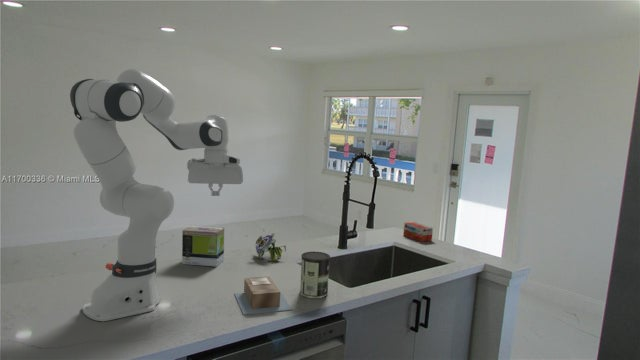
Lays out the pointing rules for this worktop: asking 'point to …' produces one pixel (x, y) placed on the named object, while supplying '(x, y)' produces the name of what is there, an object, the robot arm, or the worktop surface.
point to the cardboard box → (261, 292)
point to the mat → (248, 309)
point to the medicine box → (418, 231)
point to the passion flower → (268, 247)
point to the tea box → (203, 245)
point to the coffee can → (314, 274)
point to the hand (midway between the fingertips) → (215, 195)
